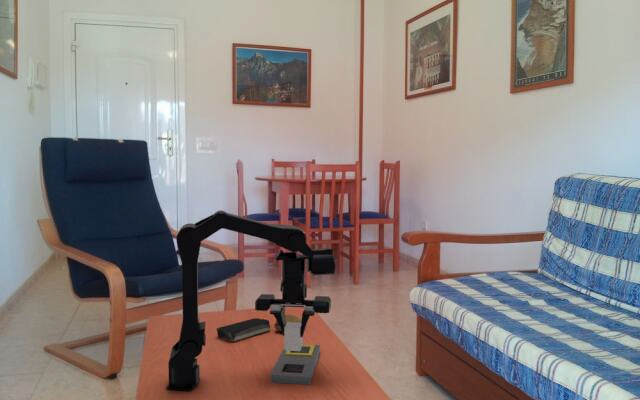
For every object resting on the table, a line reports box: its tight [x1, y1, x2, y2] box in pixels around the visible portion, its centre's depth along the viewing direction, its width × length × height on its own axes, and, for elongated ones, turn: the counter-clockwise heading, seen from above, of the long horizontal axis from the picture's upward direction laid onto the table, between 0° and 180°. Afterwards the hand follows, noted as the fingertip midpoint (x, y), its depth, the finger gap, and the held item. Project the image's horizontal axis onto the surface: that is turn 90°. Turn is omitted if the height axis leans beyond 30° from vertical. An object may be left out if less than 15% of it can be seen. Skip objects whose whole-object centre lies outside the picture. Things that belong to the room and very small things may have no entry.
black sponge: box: [216, 317, 271, 342], centre depth 163 cm, size 16×8×4 cm, turn 134°
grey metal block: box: [283, 322, 304, 351], centre depth 132 cm, size 4×4×6 cm
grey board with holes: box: [269, 344, 321, 386], centre depth 139 cm, size 10×21×2 cm, turn 173°
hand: (293, 336), depth 132 cm, fingers closed on grey metal block, 4 cm apart
